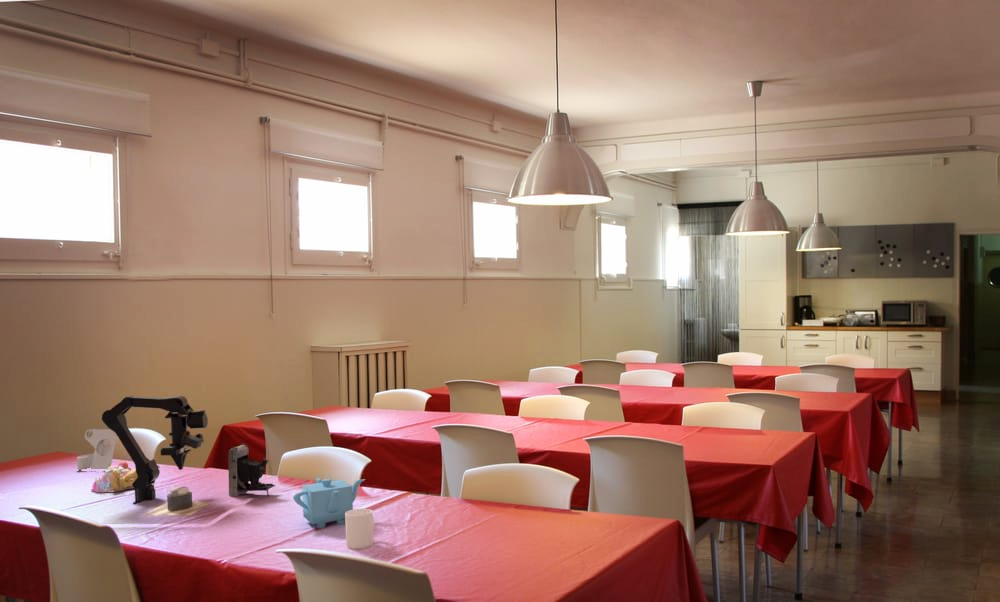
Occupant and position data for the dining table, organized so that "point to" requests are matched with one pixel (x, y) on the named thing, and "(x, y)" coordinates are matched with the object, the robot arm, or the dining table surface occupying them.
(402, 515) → the dining table surface
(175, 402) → the robot arm
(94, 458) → the phone holder
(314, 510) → the teakettle
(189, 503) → the ring
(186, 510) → the mount board
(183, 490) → the beige mottled stone
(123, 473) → the candy landscape model
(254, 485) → the vintage camera
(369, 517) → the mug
